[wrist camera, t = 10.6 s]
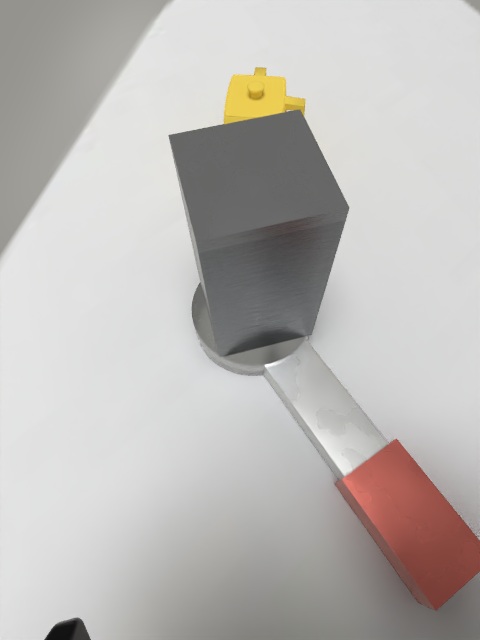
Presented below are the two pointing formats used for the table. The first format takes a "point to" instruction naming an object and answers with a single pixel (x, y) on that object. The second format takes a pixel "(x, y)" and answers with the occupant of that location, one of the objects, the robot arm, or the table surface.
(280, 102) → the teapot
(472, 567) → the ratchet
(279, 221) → the brushed steel square block
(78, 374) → the table surface
